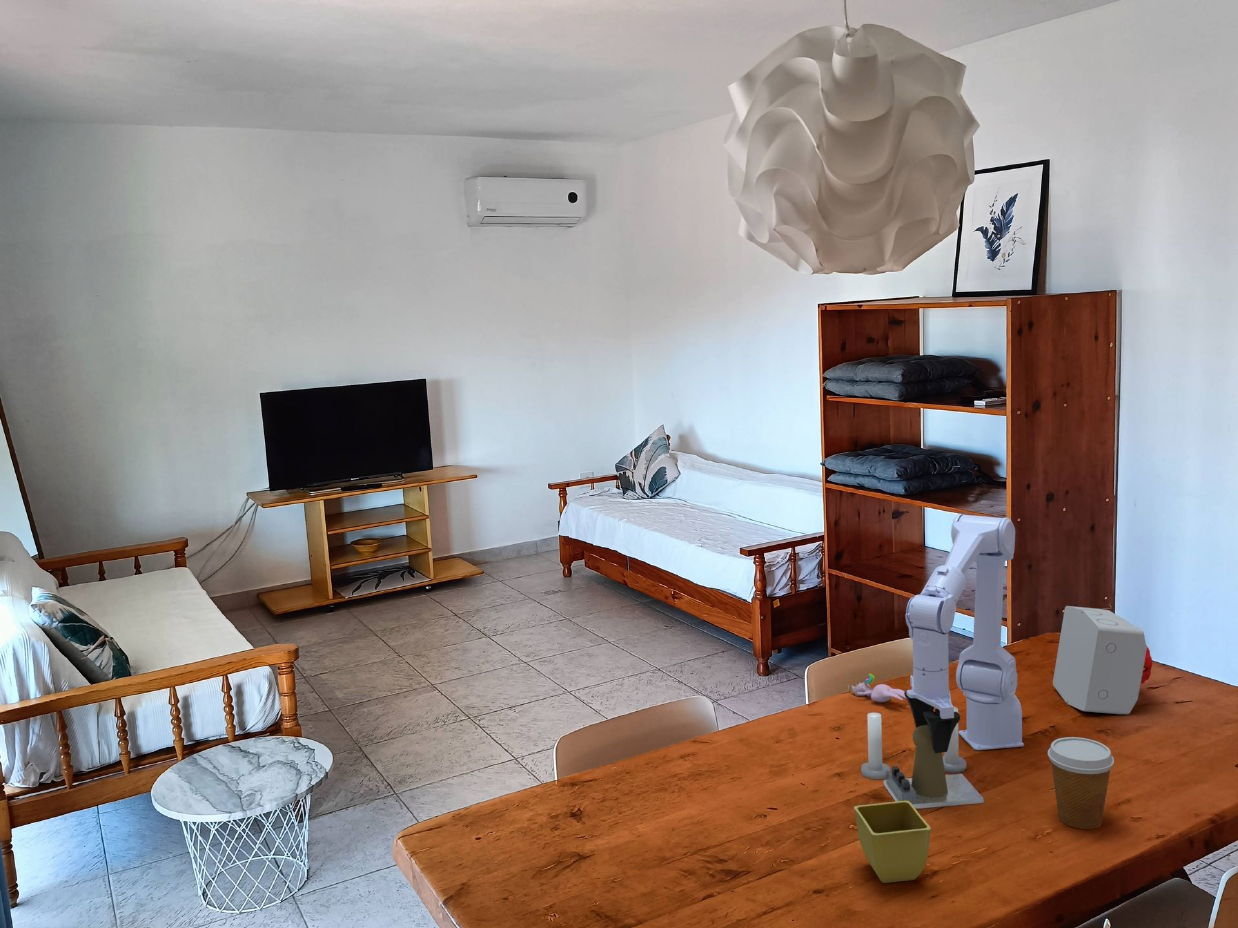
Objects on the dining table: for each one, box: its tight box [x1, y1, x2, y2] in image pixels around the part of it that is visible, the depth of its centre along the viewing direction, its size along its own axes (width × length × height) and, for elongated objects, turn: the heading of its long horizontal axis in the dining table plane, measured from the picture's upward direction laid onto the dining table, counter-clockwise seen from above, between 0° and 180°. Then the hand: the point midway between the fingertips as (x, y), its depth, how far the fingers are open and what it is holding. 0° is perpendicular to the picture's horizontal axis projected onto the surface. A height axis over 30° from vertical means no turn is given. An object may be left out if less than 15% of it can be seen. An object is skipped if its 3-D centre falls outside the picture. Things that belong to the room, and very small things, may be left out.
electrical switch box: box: [1052, 605, 1153, 715], centre depth 198 cm, size 15×15×20 cm
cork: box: [911, 725, 948, 797], centre depth 166 cm, size 6×6×11 cm
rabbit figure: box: [847, 673, 906, 704], centre depth 207 cm, size 6×6×15 cm
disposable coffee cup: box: [1047, 736, 1115, 830], centre depth 155 cm, size 10×10×12 cm
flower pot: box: [853, 801, 932, 884], centre depth 144 cm, size 9×9×9 cm
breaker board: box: [883, 765, 984, 810], centre depth 166 cm, size 14×9×4 cm, turn 93°
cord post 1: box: [860, 712, 891, 781], centre depth 174 cm, size 5×5×11 cm
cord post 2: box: [942, 706, 967, 774], centre depth 175 cm, size 5×5×11 cm
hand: (931, 741), depth 165 cm, fingers open, 7 cm apart
